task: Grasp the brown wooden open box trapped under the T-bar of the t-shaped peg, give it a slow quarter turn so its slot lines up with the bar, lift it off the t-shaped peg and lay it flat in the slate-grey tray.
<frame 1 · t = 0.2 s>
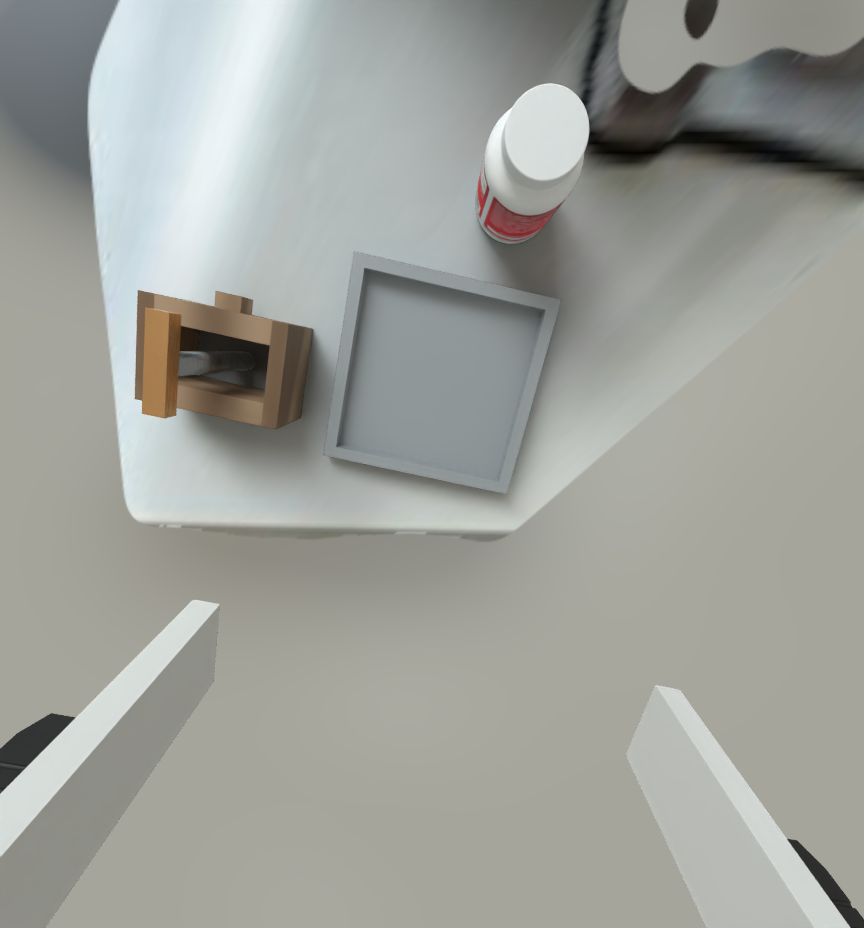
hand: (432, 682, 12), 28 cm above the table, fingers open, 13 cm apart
tray: (436, 380, 37), on the table
brown wooden open box: (245, 361, 37), on the table
t-shaped peg: (245, 361, 37), on the table
pill bottle: (511, 204, 33), on the table
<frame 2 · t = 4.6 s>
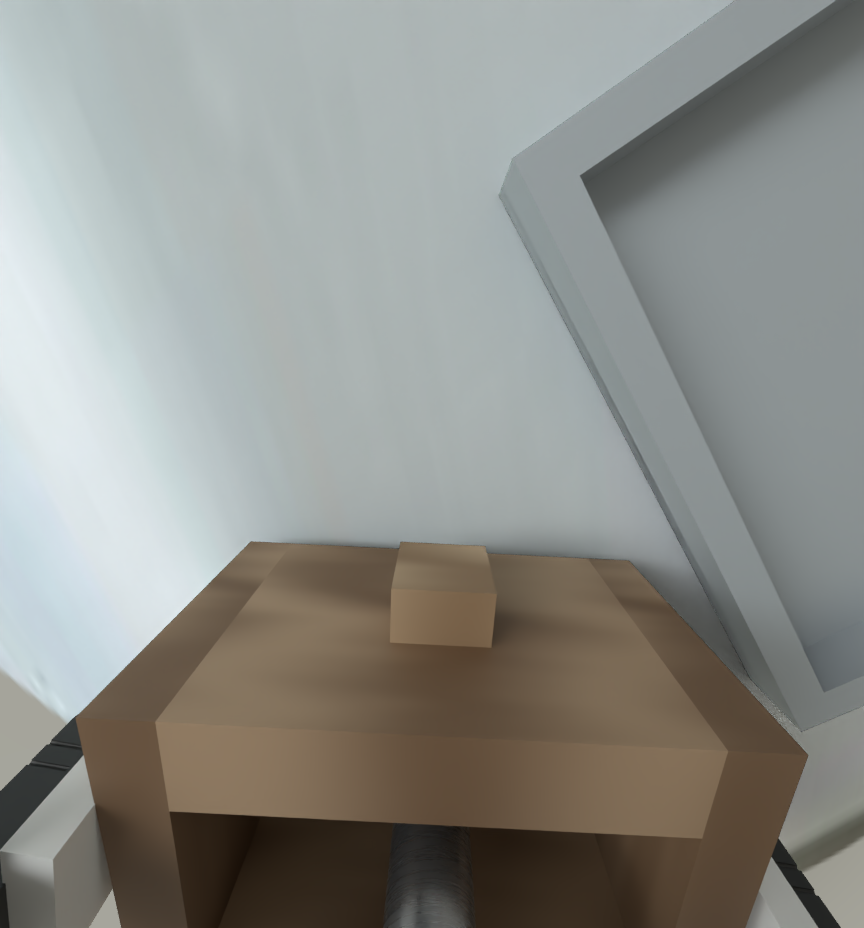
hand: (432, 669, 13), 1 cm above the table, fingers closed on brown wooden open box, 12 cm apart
brown wooden open box: (433, 666, 13), point 1 cm above the table, touching gripper
t-shaped peg: (433, 651, 14), on the table
when the fingers open (3 cm above the table, at t = 12.6 s): brown wooden open box drops 2 cm, resting on tray.
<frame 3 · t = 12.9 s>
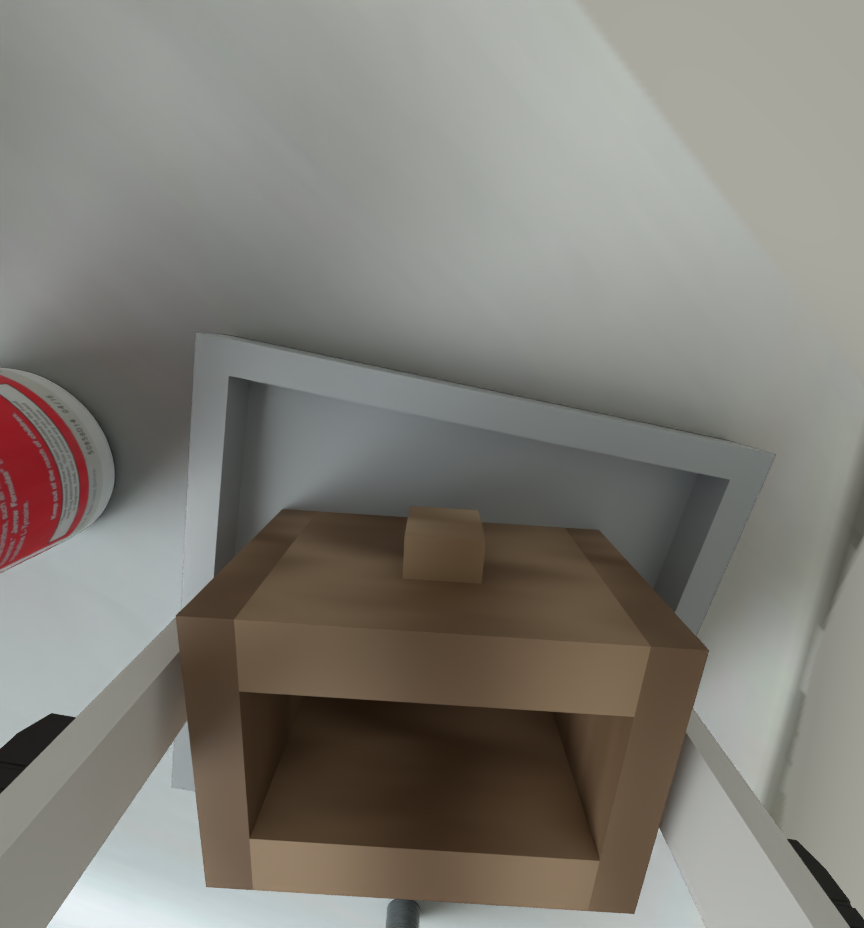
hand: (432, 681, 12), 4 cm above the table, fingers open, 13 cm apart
tray: (433, 607, 16), on the table
brown wooden open box: (433, 619, 15), point 1 cm above the table, touching tray
t-shaped peg: (403, 909, 20), on the table
pill bottle: (40, 454, 15), on the table
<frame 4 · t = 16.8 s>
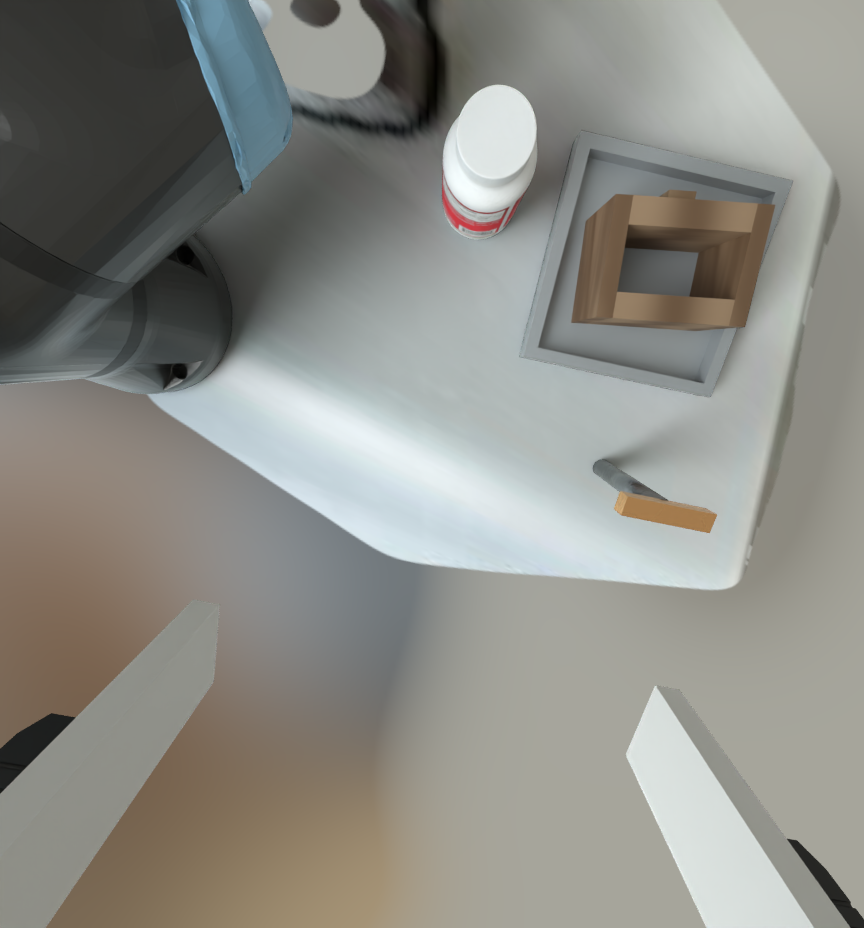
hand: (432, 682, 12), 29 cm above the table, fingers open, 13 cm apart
tray: (639, 278, 36), on the table
brown wooden open box: (642, 277, 35), point 1 cm above the table, touching tray
t-shaped peg: (601, 467, 40), on the table
pill bottle: (478, 201, 35), on the table
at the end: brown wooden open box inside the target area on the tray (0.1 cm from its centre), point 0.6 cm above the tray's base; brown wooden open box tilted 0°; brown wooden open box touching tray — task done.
